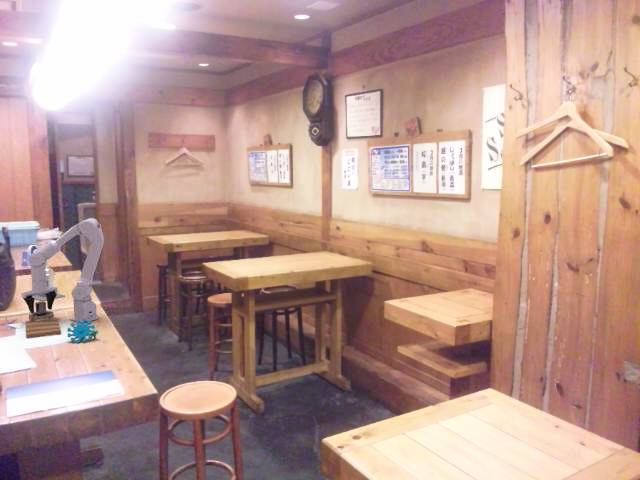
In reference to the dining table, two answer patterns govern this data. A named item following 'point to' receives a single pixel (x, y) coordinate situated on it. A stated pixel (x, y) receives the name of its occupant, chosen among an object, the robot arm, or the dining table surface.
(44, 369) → the dining table surface
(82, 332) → the gear
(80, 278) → the robot arm
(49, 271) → the cup with straw
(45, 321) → the brown piece
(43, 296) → the shower valve
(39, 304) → the hinge pin
